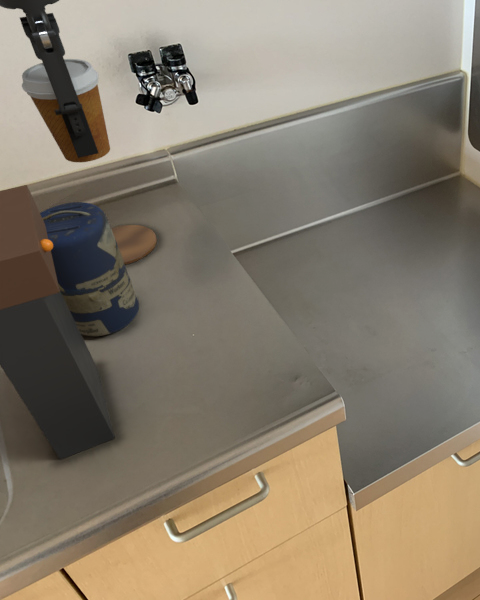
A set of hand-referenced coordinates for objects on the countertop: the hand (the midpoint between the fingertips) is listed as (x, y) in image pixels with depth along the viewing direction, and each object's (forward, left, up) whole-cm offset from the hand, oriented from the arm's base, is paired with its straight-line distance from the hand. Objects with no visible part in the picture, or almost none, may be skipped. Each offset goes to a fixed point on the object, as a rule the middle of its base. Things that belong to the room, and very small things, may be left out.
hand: (83, 141), depth 88 cm
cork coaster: (0, 0, -19) cm, 19 cm away
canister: (+11, -14, -19) cm, 26 cm away
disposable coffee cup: (0, 0, -2) cm, 2 cm away
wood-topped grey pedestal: (+21, -27, -19) cm, 39 cm away
